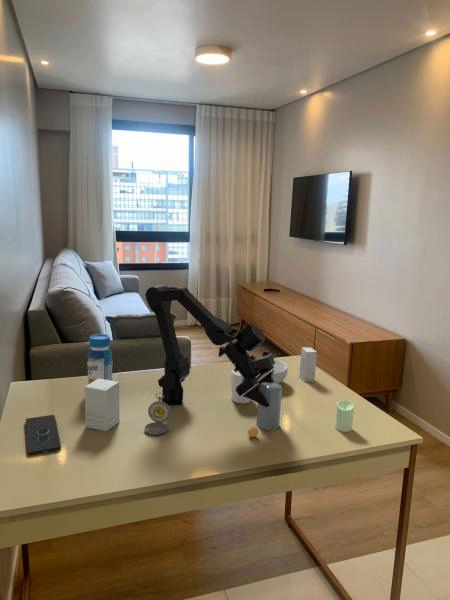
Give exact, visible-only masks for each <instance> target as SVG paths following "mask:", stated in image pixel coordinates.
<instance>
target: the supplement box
mask: <svg viewBox="0 0 450 600" xmlns="http://www.w3.org/2000/svg"><path fill="white" fill-rule="evenodd" d="M83 387H84V419H85V422H84V423H85V428H89V429H93V430H97V431H102V432H108V431H109V430H111V428H113V427H114V426H115V425H117V424H119V422H120V421H121V420H120V382H119V381H114V380H112V381H109V380H104V379H97V380H95V381H94V382H92V383H90V384H89V385H88V384H87V385H86V386H83Z"/></svg>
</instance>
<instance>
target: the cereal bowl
mask: <svg viewBox="0 0 450 600" xmlns="http://www.w3.org/2000/svg"><path fill="white" fill-rule="evenodd" d="M274 361H275V364H274V365H273V366H274V368H273V369H272V370H274V372H273V380H274V383H277V384H280V383H281V382H283V381H284V380H285V379H286V377H287V376H288V369H289V368H288V364H287V363H285V362H283V361H281V360H279V359H278V360H277V359H274ZM272 370H271V371H272ZM271 371H270V372H271ZM259 380H260V379H259ZM259 380H257V381H259ZM257 384H258V383H257Z"/></svg>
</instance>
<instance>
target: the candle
mask: <svg viewBox="0 0 450 600" xmlns="http://www.w3.org/2000/svg"><path fill="white" fill-rule="evenodd" d="M354 411H355V405H354V403H353V401H350V400H348V399H341V400H339V401H337V403H336V413H335V423H334V428H335V429H336V430H337V431H339V432H342V433H347V432H351V431H352V430H353V422H354V421H353V420H354Z"/></svg>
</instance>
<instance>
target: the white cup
mask: <svg viewBox="0 0 450 600" xmlns="http://www.w3.org/2000/svg"><path fill="white" fill-rule="evenodd" d="M234 369H235V368H233V369H232V370H231V380H230V381H231V400H232V401H233V402H234V403H237V404H248V403H250V402H251V401H252V400H251V399H249V398H246V397H243V395H244V394H245V393H244V394H243V395H241V396H239V395H238V394H237V392H236V387H237V386H238V385H239V384H241V383H242V382H243V381H242V380H243V379H244V378H243V377H242V375H241V374H240V373H239V371H236V372H235V371H234Z"/></svg>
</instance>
